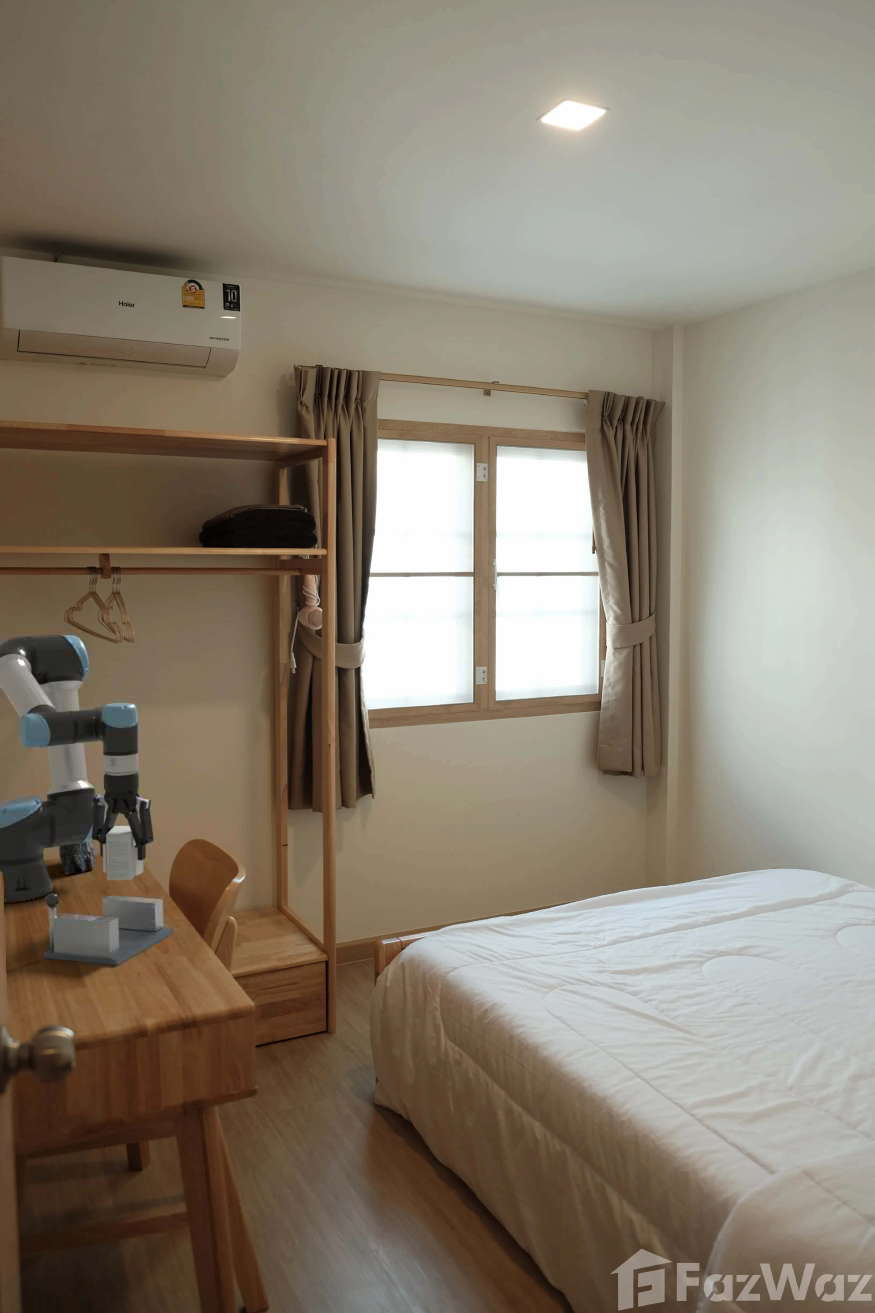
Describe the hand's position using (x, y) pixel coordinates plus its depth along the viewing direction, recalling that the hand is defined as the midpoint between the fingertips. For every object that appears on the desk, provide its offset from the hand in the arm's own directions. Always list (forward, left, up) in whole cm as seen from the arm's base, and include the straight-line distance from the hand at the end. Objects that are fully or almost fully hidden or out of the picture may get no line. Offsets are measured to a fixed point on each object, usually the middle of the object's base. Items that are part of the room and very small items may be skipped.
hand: (123, 872), depth 224 cm
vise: (+17, +9, -10) cm, 22 cm away
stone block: (-37, -39, -10) cm, 55 cm away
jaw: (+9, +9, -9) cm, 15 cm away
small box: (0, 0, -1) cm, 1 cm away
